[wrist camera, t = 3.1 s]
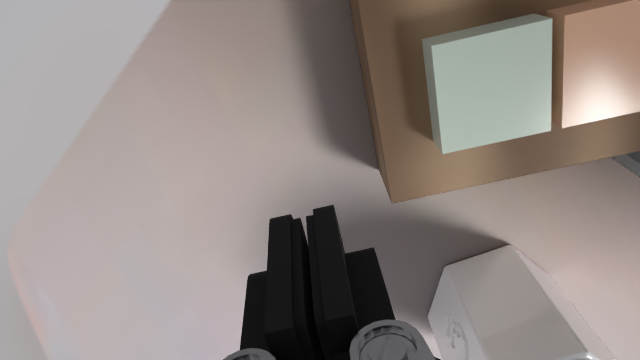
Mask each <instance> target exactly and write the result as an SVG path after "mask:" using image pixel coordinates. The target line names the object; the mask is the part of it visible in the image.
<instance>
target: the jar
mask: <svg viewBox="0 0 640 360" xmlns="http://www.w3.org/2000/svg"><path fill="white" fill-rule="evenodd" d="M428 320H429V323H430V326H431V328H432V331H433V334H434V337H435V339H436V342H437V345H438V348H439V350H440V353H441V356H442V359H443V360H617V359H616V358H615V357H614V355H613V354H612V353H611V351H610V350H609V349H608V348H607V346H606V345H605V344H604V342H603V341H602V340H601V339H600V337H599V336H598V335H597V333H596V332H595V331H594V330H593V328H592V327H591V326H590V324H589V323H588V322H587V321H586V319H585V318H584V317H583V316H582V314H581V313H580V312H579V310H578V309H577V308H576V307H575V305H574V304H573V303H572V301H571V300H570V299H569V298H568V296H567V295H566V294H565V292H564V291H563V290H562V289H561V287H560V286H559V285H558V283H557V282H556V281H555V280H554V278H553V277H552V276H551V275H549V274H548V273H547V272H545V271H544V270H543V269H541V268H540V267H539V266H537V265H536V264H535V263H534V262H532V261H531V260H530V259H528V258H527V257H526V256H524V255H523V254H522V253H521V252H519V251H518V250H517V249H515V248H514V247H513V246H511V245H507V246H504V247H501V248H498V249H495V250H492V251H489V252H486V253H483V254H480V255H477V256H474V257H471V258H468V259H465V260H462V261H459V262H456V263H453V264H450V265H447V266H445V267H444V269H443V272H442V275H441V278H440V281H439V284H438V287H437V290H436V293H435V296H434V299H433V302H432V305H431V308H430V311H429V314H428Z"/></svg>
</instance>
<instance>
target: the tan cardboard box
mask: <svg viewBox="0 0 640 360" xmlns="http://www.w3.org/2000/svg"><path fill="white" fill-rule="evenodd" d="M349 1H350V6H351V12H352V18H353V24H354V29H355V35H356V41H357V46H358V52H359V58H360V64H361V69H362V75H363V81H364V87H365V92H366V98H367V104H368V110H369V115H370V121H371V127H372V132H373V138H374V144H375V150H376V155H377V161H378V167H379V171H380V174H381V177H382V179H383V182H384V184H385V187H386V190H387V192H388V195H389V197H390V200H391V203H396V202H401V201H406V200H411V199H415V198H420V197H425V196H429V195H434V194H439V193H444V192H448V191H453V190H458V189H462V188H467V187H472V186H477V185H481V184H486V183H491V182H495V181H500V180H505V179H510V178H514V177H519V176H524V175H528V174H533V173H538V172H543V171H547V170H552V169H557V168H561V167H566V166H571V165H576V164H580V163H585V162H590V161H594V160H599V159H604V158H609V157H613V156H618V155H623V154H628V153H632V152H637V151H640V112H636V113H631V114H626V115H622V116H617V117H612V118H608V119H603V120H599V121H594V122H589V123H585V124H580V125H575V126H571V127H566V128H561V127H559V126H558V125H556V124H555V123H553V122H552V121H551V131H548V132H543V133H538V134H534V135H529V136H524V137H520V138H515V139H511V140H506V141H501V142H497V143H492V144H487V145H483V146H478V147H474V148H469V149H464V150H460V151H455V152H450V153H446V154H442V153H441V151H440V150H439V149H438V147H437V146H436V144H435V143H434V142H433V135H432V126H431V117H430V108H429V99H428V90H427V81H426V72H425V63H424V54H423V45H422V39H424V38H429V37H433V36H438V35H442V34H446V33H451V32H455V31H459V30H464V29H468V28H473V27H477V26H481V25H486V24H490V23H494V22H499V21H503V20H508V19H512V18H516V17H521V16H525V15H529V14H534V13H535V14H538V15H542V16H545V17H546V11H547V10H551V9H556V8H560V7H564V6H569V5H573V4H578V3H582V2H586V1H591V0H349Z"/></svg>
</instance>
